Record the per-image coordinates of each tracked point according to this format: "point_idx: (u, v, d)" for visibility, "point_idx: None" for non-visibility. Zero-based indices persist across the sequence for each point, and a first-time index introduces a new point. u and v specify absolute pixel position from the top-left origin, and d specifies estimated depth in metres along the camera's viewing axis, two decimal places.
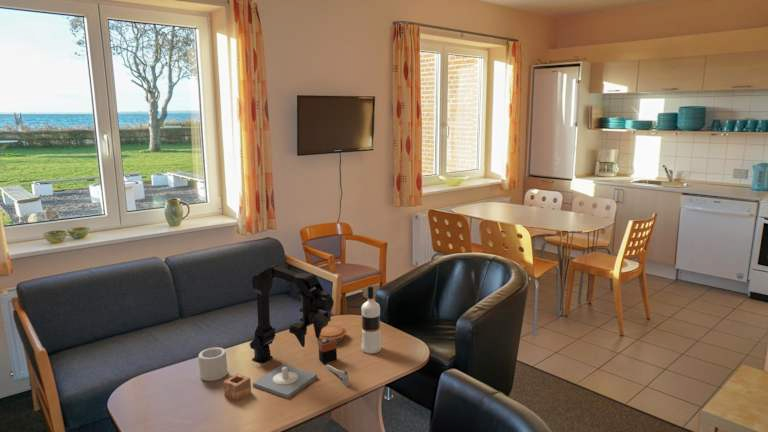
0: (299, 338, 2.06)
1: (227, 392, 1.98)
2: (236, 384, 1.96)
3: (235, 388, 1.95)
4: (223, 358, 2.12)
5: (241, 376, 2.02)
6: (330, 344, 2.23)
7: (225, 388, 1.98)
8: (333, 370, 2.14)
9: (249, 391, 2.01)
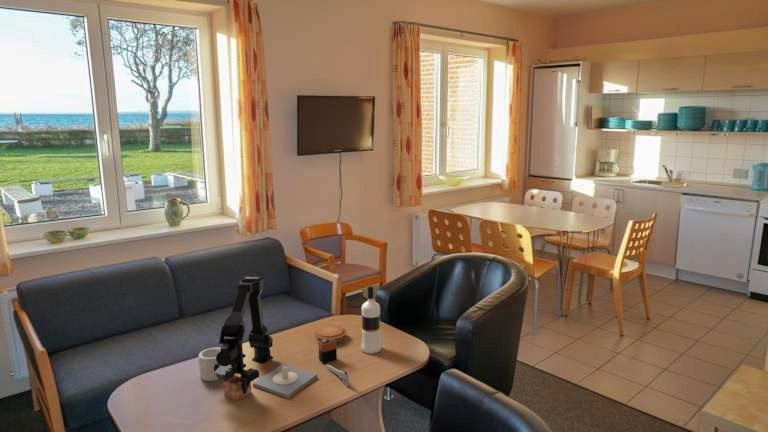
0: None
1: (227, 392, 1.98)
2: (236, 384, 1.96)
3: (235, 388, 1.95)
4: None
5: None
6: (330, 344, 2.23)
7: (225, 388, 1.98)
8: (333, 370, 2.14)
9: (249, 391, 2.01)
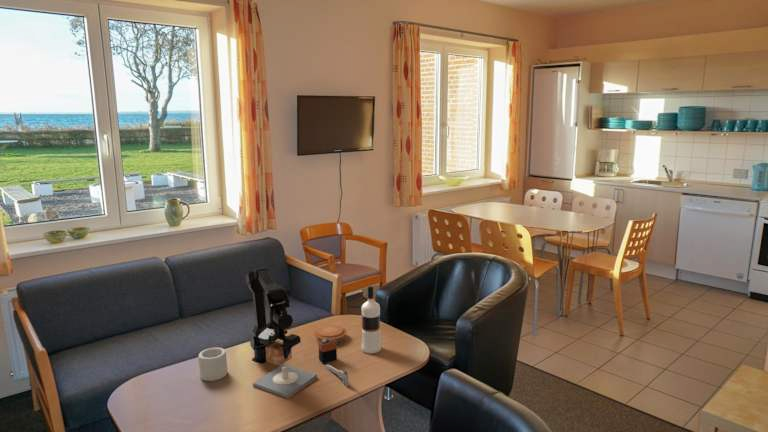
0: None
1: (269, 357, 2.04)
2: (278, 349, 2.01)
3: (277, 353, 2.01)
4: (223, 358, 2.12)
5: (282, 342, 2.07)
6: (330, 344, 2.23)
7: (267, 353, 2.04)
8: (333, 370, 2.14)
9: (290, 357, 2.06)
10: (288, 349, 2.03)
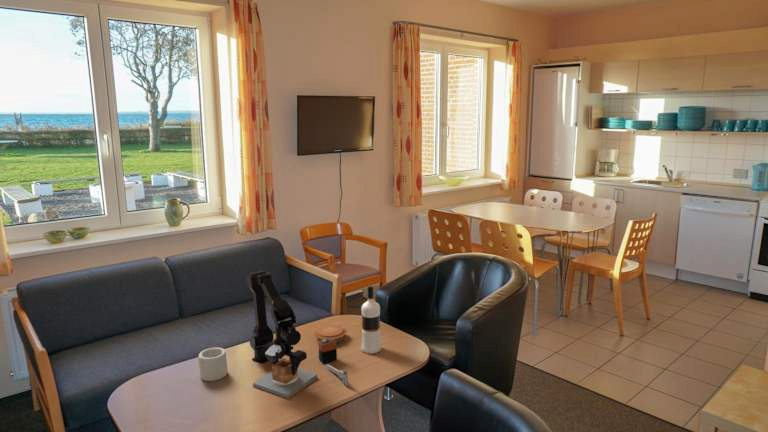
0: None
1: (275, 376, 2.06)
2: (284, 368, 2.04)
3: (284, 372, 2.03)
4: (223, 358, 2.12)
5: (288, 361, 2.10)
6: (330, 344, 2.23)
7: (273, 372, 2.06)
8: (333, 370, 2.14)
9: (296, 375, 2.09)
10: (296, 365, 2.05)
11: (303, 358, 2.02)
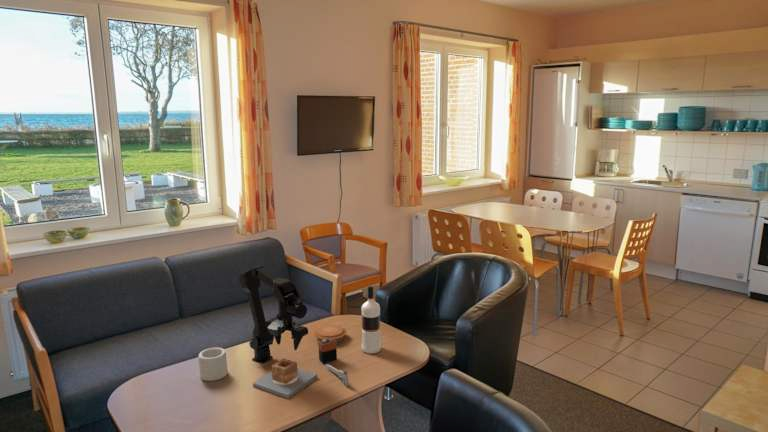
0: None
1: (275, 376, 2.06)
2: (284, 368, 2.04)
3: (284, 372, 2.03)
4: (223, 358, 2.12)
5: (288, 361, 2.10)
6: (330, 344, 2.23)
7: (273, 372, 2.06)
8: (333, 370, 2.14)
9: (296, 375, 2.09)
10: (298, 340, 2.10)
11: (304, 333, 2.08)
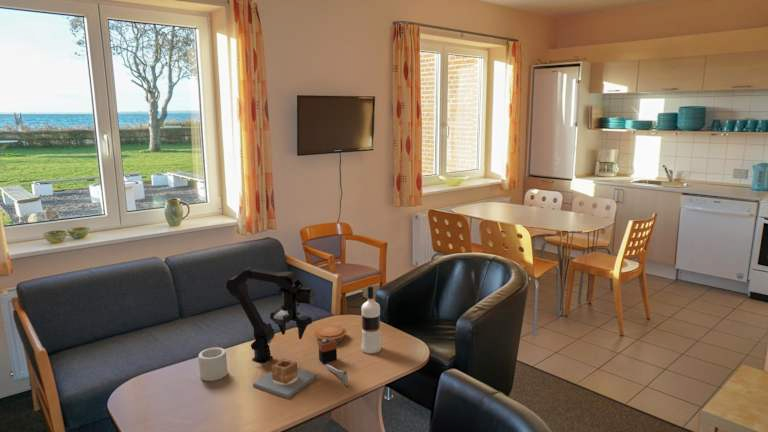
0: None
1: (275, 376, 2.06)
2: (284, 368, 2.04)
3: (284, 372, 2.03)
4: (223, 358, 2.12)
5: (288, 361, 2.10)
6: (330, 344, 2.23)
7: (273, 372, 2.06)
8: (332, 370, 2.14)
9: (296, 375, 2.09)
10: (302, 330, 2.19)
11: (309, 322, 2.17)
